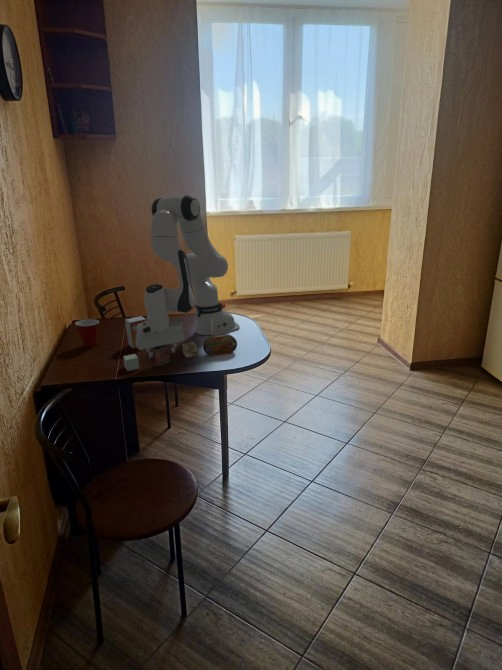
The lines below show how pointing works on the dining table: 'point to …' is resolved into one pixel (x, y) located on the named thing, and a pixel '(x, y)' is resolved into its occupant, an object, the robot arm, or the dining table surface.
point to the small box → (133, 329)
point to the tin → (219, 345)
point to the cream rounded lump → (189, 349)
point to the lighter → (162, 355)
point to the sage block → (131, 362)
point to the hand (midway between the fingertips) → (162, 354)
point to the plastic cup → (88, 331)
